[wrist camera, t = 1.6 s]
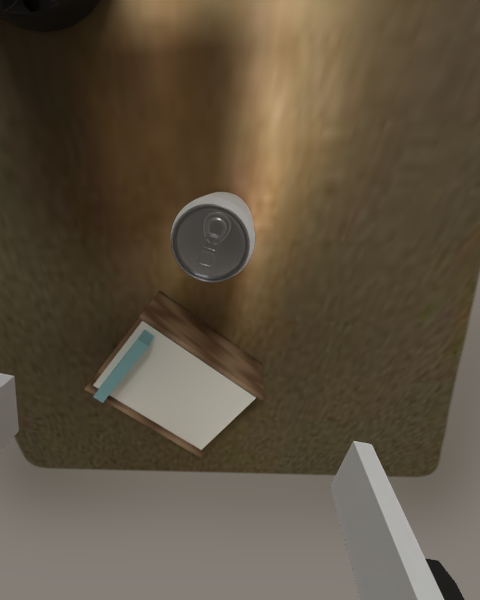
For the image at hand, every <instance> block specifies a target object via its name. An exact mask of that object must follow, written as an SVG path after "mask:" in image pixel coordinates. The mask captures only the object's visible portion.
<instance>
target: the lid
mask: <svg viewBox="0 0 480 600" xmlns="http://www.w3.org/2000/svg"><path fill="white" fill-rule="evenodd" d="M93 386H95V387H96V388H98V391H97V392H96V393H95V395H94V396H93V397H94V398H95V399H97V400H99V401H101V402H102V403H103V402H104V401H105V400H106V398H107V397H108V396H109V395H110V396H112V397H113V398H115V399H117V400H118V401H120V402H122V403H123V404H125V405H127V406H128V407H130V408H132V409H133V410H135V411H137V412H138V413H140V414H142V415H143V416H145V417H147V418H148V419H150V420H152V421H153V422H155V423H157V424H159V425H160V426H162V427H164V428H165V429H167V430H169V431H170V432H172V433H174V434H175V435H177V436H179V437H180V438H182V439H184V440H185V441H187V442H189V443H190V444H192V445H194V446H195V447H197V448H199V449H200V450H202V449H203V448H204V447H205V446H206V445H207V444H208V443H209V442H210V441H211V440H212V439H213V438H214V437H216V436H217V435H218V434H219V433H220V432H221V431H222V430H223V429H224V428H225V427H226V426H227V425H228V424H229V423H230V422H231V421H232V420H233V419H235V418H236V417H237V416H238V415H239V414H240V413H241V412H242V411H243V410H244V409H245V408H246V407H247V406H248V405H249V404H250V403H251V402H252V401H254V400H255V399H256V396H254V395H253V394H251V393H250V392H248V391H247V390H245V389H244V388H242V387H241V386H240V385H238V384H237V383H235V382H234V381H232V380H231V379H229V378H228V377H226V376H225V375H223V374H222V373H220V372H219V371H217V370H216V369H215V368H213V367H212V366H210V365H209V364H207V363H206V362H204V361H203V360H201V359H200V358H198V357H197V356H195V355H194V354H192V353H191V352H190V351H188V350H187V349H185V348H184V347H182V346H181V345H179V344H178V343H176V342H175V341H173V340H172V339H170V338H169V337H167V336H166V335H165V334H163V333H162V332H160V331H159V330H157V329H156V328H154V327H153V326H151V325H150V324H148V323H147V322H145V321H144V320H143V321H142V322H141V323H140V325H139V326H138V327H137V329H136V330H135V331H134V332H133V334H132V335H131V336H130V338H129V339H128V340H127V342H126V343H125V344H124V345H123V347H122V348H121V349H120V351H119V352H118V353H117V355H116V356H115V357H114V359H113V360H112V361H111V362H110V364H109V365H108V366H107V368H106V369H105V370H104V372H103V373H102V374H101V376H100V377H99V378H98V379H97V381H96V382H95V383H94V385H93Z"/></svg>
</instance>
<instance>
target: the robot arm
mask: <svg viewBox="0 0 480 600" xmlns="http://www.w3.org/2000/svg"><path fill="white" fill-rule="evenodd" d="M98 1H99V0H0V17H1V18H3V19H5V20H6V21H8V22H10V23H12V24H15V25H17V26H20V27H23V28H26V29H31V30H37V31H53V30H59V29H63V28H65V27H68V26H70V25H73V24H75V23H76V22H78V21H79V20H81V19H82V18H84V17H85V16H86V15H87V14H88V13H89V12H90V11H91V10H92V9H93V8H94V7H95V5H96V4H97V3H98ZM18 431H19V428H18V416H17V403H16V391H15V379H14V376H12V375H7V374H1V373H0V451H1V450H2V449H3V448H4V447H5V446H6V445H7V443H8V442H9V441H10V440H11V439H12V438H13V437H14V436H15V435H16V433H17V432H18ZM330 489H331V492H332V496H333V500H334V503H335V507H336V511H337V514H338V519H339V522H340V526H341V530H342V533H343V537H344V541H345V545H346V548H347V552H348V556H349V559H350V563H351V567H352V571H353V574H354V578H355V582H356V585H357V589H358V593H359V596H360V600H464V598H463V596H462V594H461V592H460V590H459V588H458V586H457V584H456V583H455V581H454V580H453V579H452V578H451V576H450V575H449V574H448V572H447V571H446V570H445V569H444V567H443V566H442V565H441V563H440V562H439V561H436V560H430V559H425V557H424V555H423V554H422V551H421V549H420V547H419V545H418V543H417V540H416V538H415V536H414V534H413V532H412V530H411V527H410V526H409V523H408V521H407V519H406V517H405V515H404V513H403V510H402V508H401V506H400V504H399V502H398V500H397V498H396V495H395V493H394V491H393V489H392V487H391V485H390V483H389V481H388V478H387V476H386V474H385V472H384V470H383V468H382V466H381V463H380V461H379V459H378V457H377V455H376V453H375V451H374V448H373V446H372V444H367V443H362V442H356V441H353V443H352V445H351V447H350V449H349V450H348V452H347V454H346V456H345V458H344V460H343V462H342V464H341V466H340V468H339V470H338V472H337V474H336V476H335V478H334V480H333V482H332V484H331V486H330Z"/></svg>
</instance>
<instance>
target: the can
mask: <svg viewBox="0 0 480 600" xmlns="http://www.w3.org/2000/svg"><path fill="white" fill-rule="evenodd" d="M254 246H255V232H254V225H253V219H252V215H251V212H250V209H249V207H248V206H247V204H246V203H245V202H244V201H243V200H242V199H241V198H240V197H239V196H237V195H235V194H232V193H228V192H214V193H211V194H208V195H205V196H202V197H200V198H197V199H195V200H193V201H191V202H190V203H188V204H187V205H186V206H185V207H183V208H182V210H181V211H180V212H179V213H178V215H177V216H176V218H175V220H174V223H173V226H172V230H171V247H172V252H173V255H174V258H175V260H176V262H177V263H178V265H179V266H180V267H181V269H182V270H183V271H184V272H185V273H187V274H188V275H189V276H191V277H193V278H195V279H197V280H200V281H203V282H211V283H213V282H221V281H224V280H227V279H229V278H231V277H233V276H235V275H236V274H238V273H239V272H240V271H242V270H243V269H244V268H245V266H246V265H247V264H248V262H249V260H250V259H251V256H252V254H253V251H254Z"/></svg>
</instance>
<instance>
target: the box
mask: <svg viewBox="0 0 480 600" xmlns="http://www.w3.org/2000/svg"><path fill="white" fill-rule="evenodd" d="M143 320H144V321H145V322H147V323H148V324H150V325H151V326H153V327H154V328H156V329H157V330H159V331H160V332H162V333H163V334H165V335H166V336H167V337H169V338H170V339H172V340H173V341H175V342H176V343H178V344H179V345H181V346H182V347H184V348H185V349H187V350H188V351H190V352H191V353H192V354H194V355H195V356H197V357H198V358H200V359H201V360H203V361H204V362H206V363H207V364H209V365H210V366H212V367H213V368H215V369H216V370H217V371H219V372H220V373H222V374H223V375H225V376H226V377H228V378H229V379H231V380H232V381H234V382H235V383H237V384H238V385H240V386H241V387H242V388H244V389H245V390H247V391H248V392H250V393H251V394H253V395H254V396H256V397H257V398H259V399H260V400H262V399H264V386H263V373H262V364H261V363H260V362H258V361H257V360H256V359H254V358H253V357H251V356H250V355H249V354H247V353H246V352H244V351H243V350H242V349H240V348H239V347H237V346H236V345H235V344H233V343H232V342H230V341H229V340H228V339H226V338H225V337H223V336H222V335H221V334H219V333H218V332H216V331H215V330H214V329H212V328H211V327H210V326H208V325H207V324H205V323H204V322H203V321H201V320H200V319H198V318H197V317H196V316H194V315H193V314H191V313H190V312H189V311H187V310H186V309H184V308H183V307H182V306H180V305H179V304H177V303H176V302H175V301H173V300H172V299H170V298H169V297H168V296H166V295H165V294H163V293H162V292H161V291H159V292H158V293H157V295H156V296H155V297H154V298H153V300H152V301H151V302H150V304H149V305H148V306H147V307H146V309H145V310H144V311H143V312H142V314H141V315H140V316H139V318H138V319H137V321H136V322H135V323H134V324H133V326H132V327H131V328H130V330H129V331H128V332H127V334H126V335H125V336H124V338H123V339H122V340H121V342H120V343H119V344H118V346H117V347H116V348H115V350H114V351H113V352H112V354H111V355H110V356H109V358H108V359H107V360H106V361H105V363H104V364H103V365H102V367H101V368H100V369H99V371H98V372H97V373H96V375H95V376H94V377H93V379H92V380H91V381H90V382H89V384H88V385H87V386H86V388H85V390H86V391H88V392H90V393H91V394H93V395H95V393H96V392H97V391H98V388H96V387H95V386H93V385H94V383H95V382H96V381H97V379H98V378H99V377H100V376H101V374H102V373H103V372H104V370H105V369H106V368H107V366H108V365H109V364H110V362H111V361H112V360H113V359H114V357H115V356H116V355H117V353H118V352H119V351H120V349H121V348H122V347H123V345H124V344H125V343H126V342H127V340H128V339H129V338H130V336H131V335H132V334H133V332H134V331H135V330H136V329H137V327H138V326H139V325H140V323H141V322H142V321H143ZM105 402H107V403H108V404H110V405H112V406H113V407H115V408H117V409H119V410H120V411H122V412H124V413H125V414H127V415H129V416H130V417H132V418H134V419H136V420H137V421H139V422H141V423H142V424H144V425H146V426H147V427H149V428H151V429H153V430H154V431H156V432H158V433H159V434H161V435H163V436H164V437H166V438H168V439H170V440H171V441H173V442H175V443H176V444H178V445H180V446H181V447H183V448H185V449H186V450H188V451H190V452H192V453H193V454H195V455H197V456H198V457H200V458H201V457H202V456H203V451H204V448H203V449H202V450H200V449H199V448H197V447H195V446H194V445H192V444H190V443H189V442H187V441H185V440H184V439H182V438H180V437H179V436H177V435H175V434H174V433H172V432H170V431H169V430H167V429H165V428H164V427H162V426H160V425H159V424H157V423H155V422H153V421H152V420H150V419H148V418H147V417H145V416H143V415H142V414H140V413H138V412H137V411H135V410H133V409H132V408H130V407H128V406H127V405H125V404H123V403H122V402H120V401H118V400H117V399H115V398H113V397H112V396H110V395H109V396H108V397H107V398H106V400H105Z"/></svg>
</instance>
